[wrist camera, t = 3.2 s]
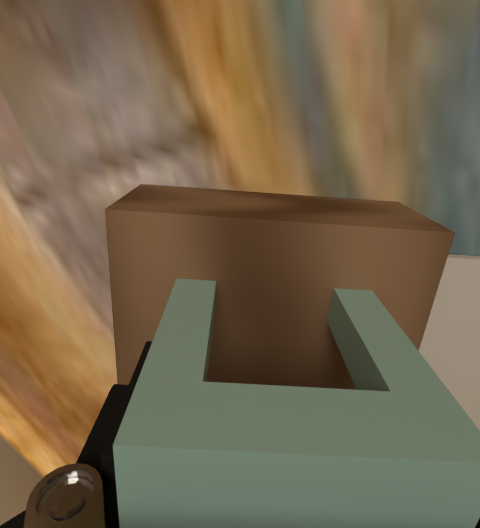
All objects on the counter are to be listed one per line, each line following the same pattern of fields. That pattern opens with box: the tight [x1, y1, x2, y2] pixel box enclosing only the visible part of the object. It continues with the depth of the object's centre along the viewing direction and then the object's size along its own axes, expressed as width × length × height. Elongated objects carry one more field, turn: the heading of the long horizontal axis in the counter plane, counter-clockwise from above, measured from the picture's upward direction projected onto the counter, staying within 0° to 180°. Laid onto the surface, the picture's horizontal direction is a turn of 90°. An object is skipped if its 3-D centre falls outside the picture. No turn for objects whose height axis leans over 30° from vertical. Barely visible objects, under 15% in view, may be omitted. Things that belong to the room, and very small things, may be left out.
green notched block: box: [113, 279, 480, 528], centre depth 9 cm, size 6×6×6 cm
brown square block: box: [105, 184, 455, 390], centre depth 14 cm, size 10×10×4 cm
